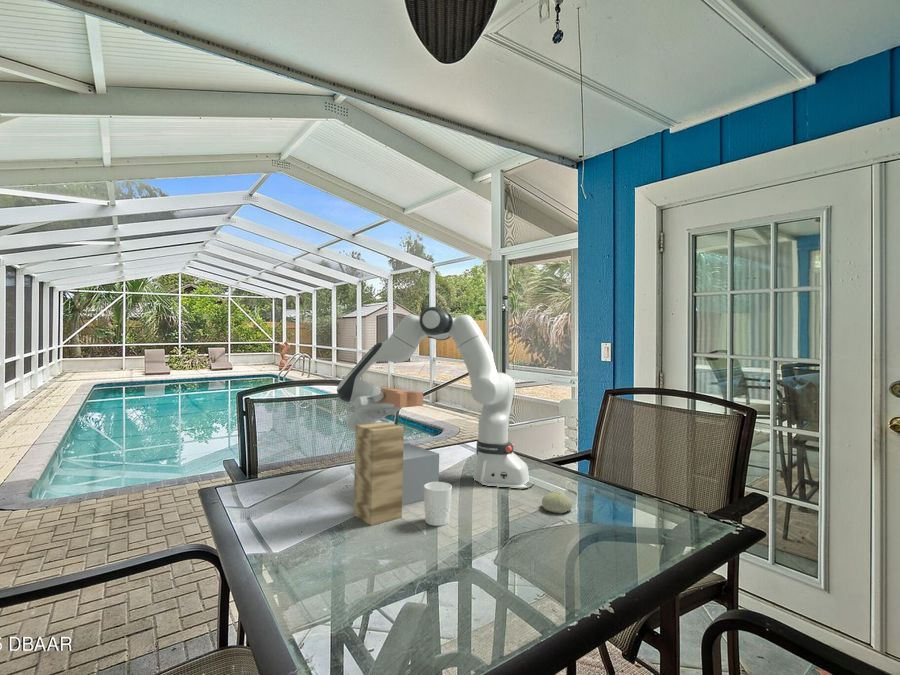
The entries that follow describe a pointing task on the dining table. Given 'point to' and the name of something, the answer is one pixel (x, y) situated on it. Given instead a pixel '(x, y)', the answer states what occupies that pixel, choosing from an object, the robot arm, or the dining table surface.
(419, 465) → the low block
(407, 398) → the terracotta notched block
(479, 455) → the robot arm
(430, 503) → the white cup
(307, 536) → the dining table surface
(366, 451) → the pedestal
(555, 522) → the dining table surface
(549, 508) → the sea urchin shell
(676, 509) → the dining table surface
